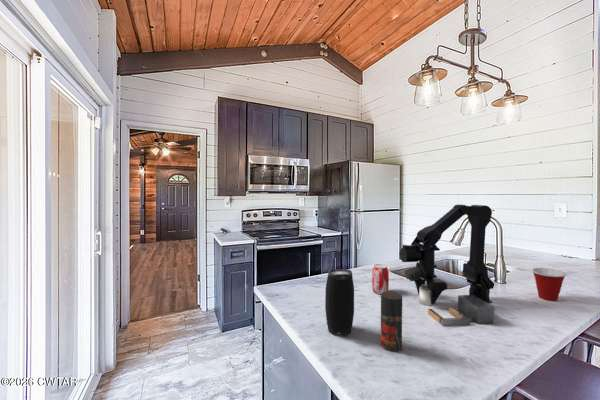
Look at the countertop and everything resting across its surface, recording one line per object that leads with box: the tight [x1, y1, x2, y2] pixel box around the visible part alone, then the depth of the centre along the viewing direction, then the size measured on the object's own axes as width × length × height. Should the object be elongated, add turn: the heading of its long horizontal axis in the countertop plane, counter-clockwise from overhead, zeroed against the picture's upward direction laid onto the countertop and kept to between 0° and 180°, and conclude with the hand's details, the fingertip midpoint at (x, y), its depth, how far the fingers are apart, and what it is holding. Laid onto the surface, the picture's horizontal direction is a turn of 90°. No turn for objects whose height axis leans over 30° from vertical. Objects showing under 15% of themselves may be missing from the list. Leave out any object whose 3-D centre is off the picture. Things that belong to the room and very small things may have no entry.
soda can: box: [371, 263, 390, 295], centre depth 120 cm, size 7×7×12 cm
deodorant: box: [380, 291, 403, 353], centre depth 78 cm, size 6×6×15 cm
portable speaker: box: [324, 268, 355, 336], centre depth 87 cm, size 9×9×20 cm
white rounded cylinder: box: [418, 284, 434, 307], centre depth 109 cm, size 5×5×7 cm
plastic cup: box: [531, 267, 567, 302], centre depth 113 cm, size 11×11×12 cm
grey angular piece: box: [427, 294, 495, 327], centre depth 97 cm, size 19×12×6 cm, turn 95°
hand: (426, 299), depth 109 cm, fingers open, 9 cm apart
